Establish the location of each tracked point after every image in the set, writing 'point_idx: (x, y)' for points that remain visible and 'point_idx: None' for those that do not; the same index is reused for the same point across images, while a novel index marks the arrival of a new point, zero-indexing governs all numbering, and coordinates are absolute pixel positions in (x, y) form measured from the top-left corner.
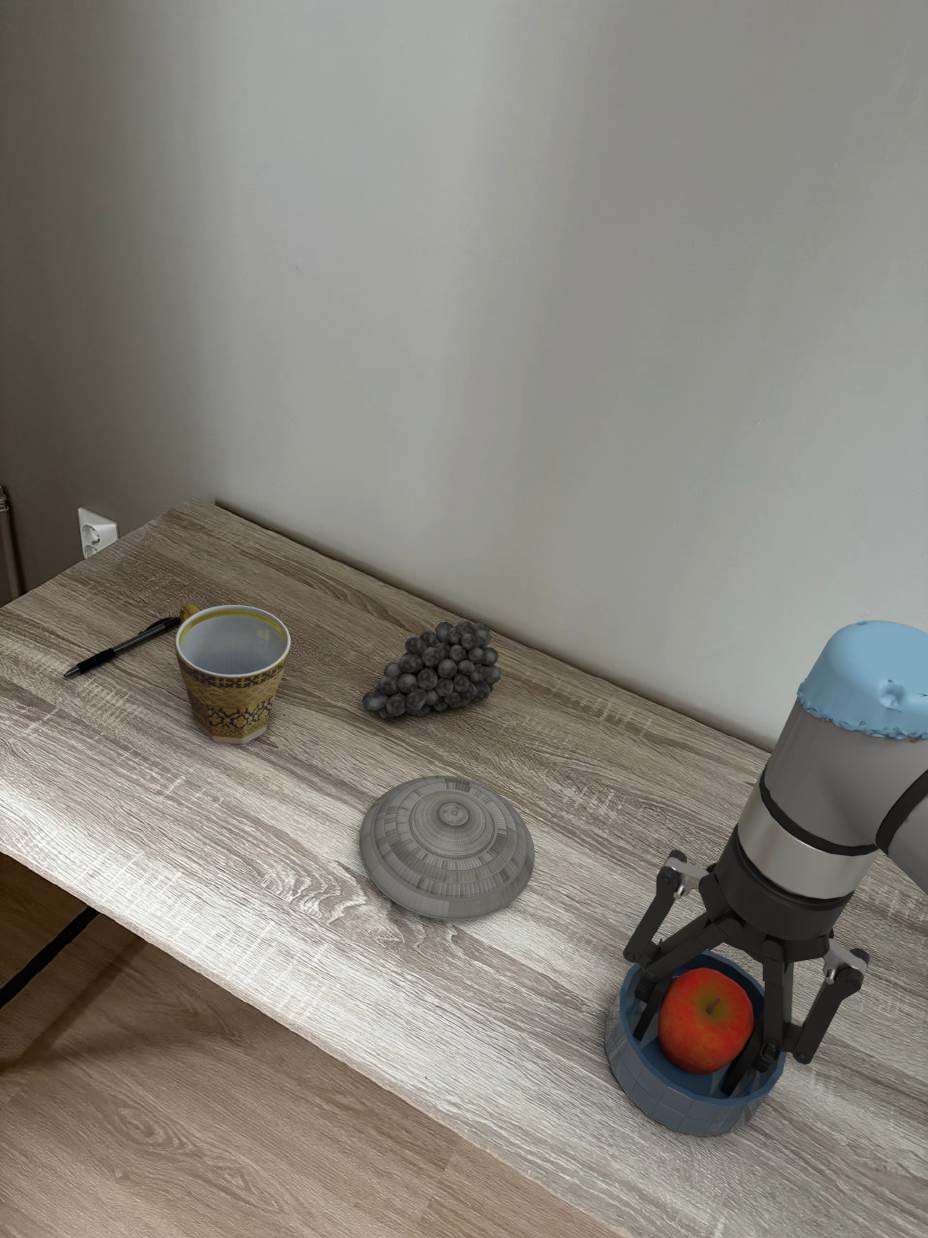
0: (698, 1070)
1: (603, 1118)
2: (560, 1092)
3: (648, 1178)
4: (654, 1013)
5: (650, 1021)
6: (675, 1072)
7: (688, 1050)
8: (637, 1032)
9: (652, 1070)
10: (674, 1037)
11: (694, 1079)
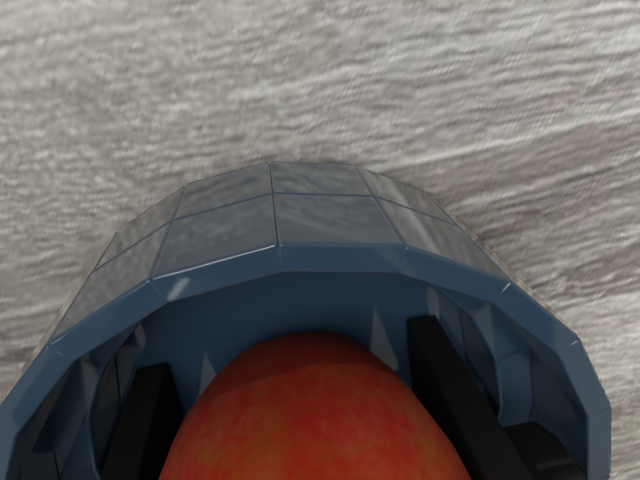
0: (232, 376)
1: (375, 64)
2: (519, 34)
3: (165, 3)
4: (462, 429)
5: (443, 391)
6: (287, 318)
7: (295, 426)
8: (433, 332)
9: (368, 256)
10: (372, 429)
11: (237, 339)
